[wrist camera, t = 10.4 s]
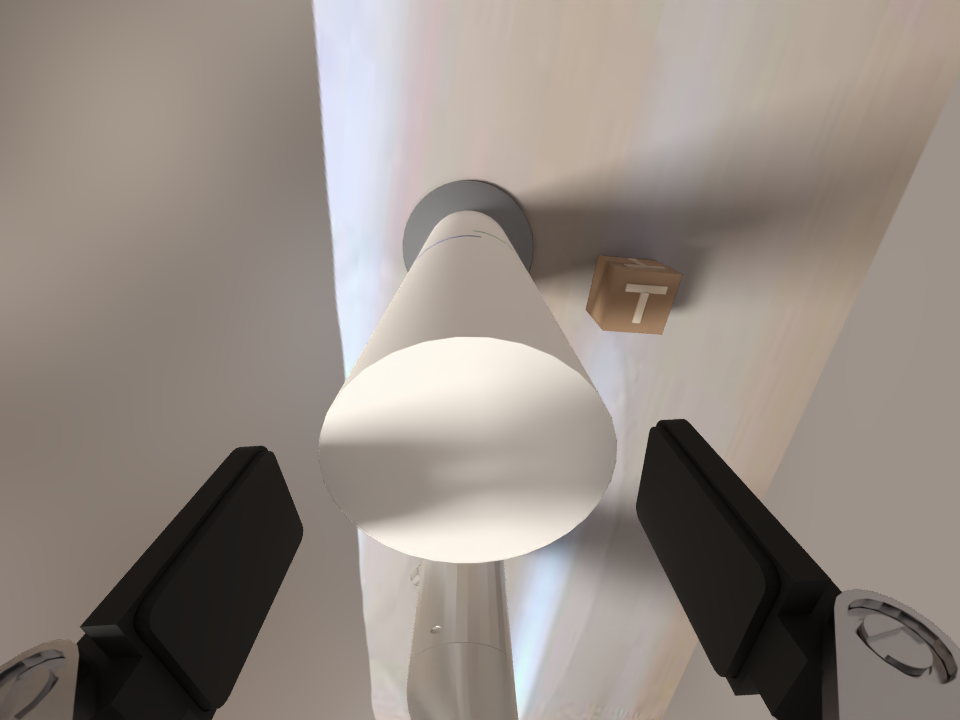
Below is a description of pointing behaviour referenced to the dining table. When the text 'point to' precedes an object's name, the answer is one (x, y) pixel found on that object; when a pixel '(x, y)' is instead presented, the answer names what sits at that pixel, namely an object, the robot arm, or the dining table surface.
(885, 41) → the dining table surface
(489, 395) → the cylindrical container
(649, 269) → the wooden letter cube
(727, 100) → the dining table surface
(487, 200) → the charcoal mat
